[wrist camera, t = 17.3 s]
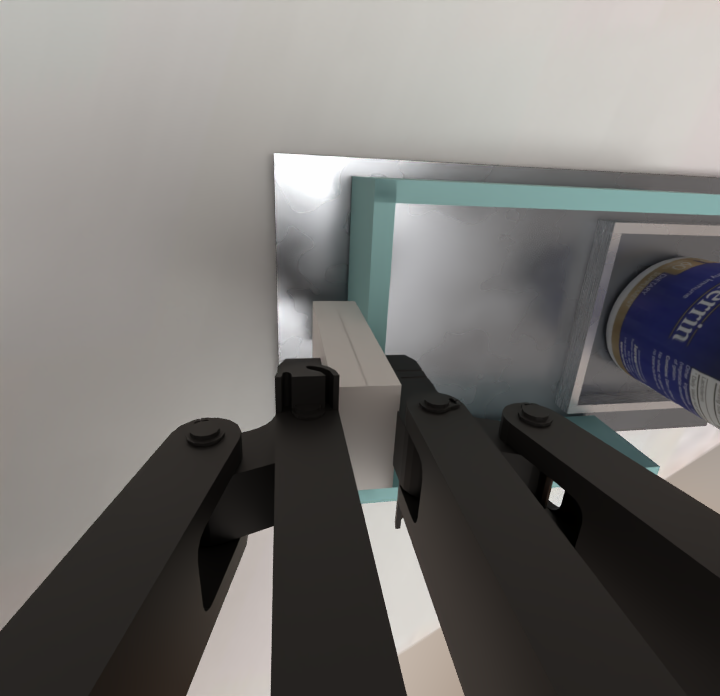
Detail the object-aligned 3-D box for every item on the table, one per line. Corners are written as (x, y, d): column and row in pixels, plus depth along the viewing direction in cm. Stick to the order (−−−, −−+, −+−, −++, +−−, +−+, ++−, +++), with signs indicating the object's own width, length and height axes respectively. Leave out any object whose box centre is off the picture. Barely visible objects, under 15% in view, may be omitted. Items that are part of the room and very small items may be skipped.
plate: (280, 436, 20) (281, 465, 18) (274, 154, 16) (273, 152, 14) (686, 414, 24) (723, 436, 22) (772, 181, 20) (827, 183, 18)
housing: (342, 440, 19) (357, 504, 16) (352, 175, 15) (375, 178, 12) (591, 425, 21) (655, 479, 18) (656, 190, 17) (756, 196, 14)
